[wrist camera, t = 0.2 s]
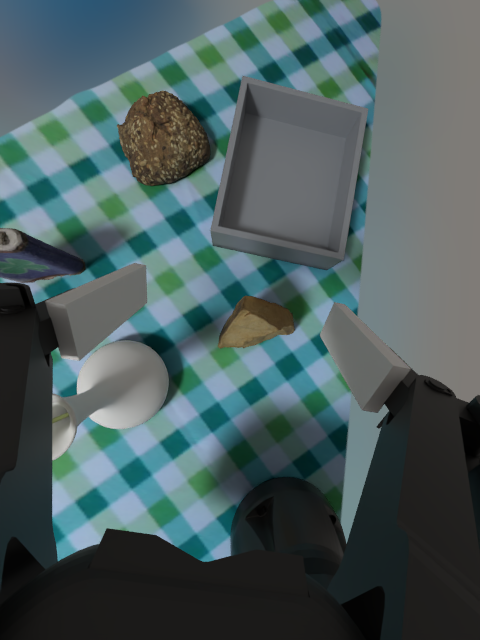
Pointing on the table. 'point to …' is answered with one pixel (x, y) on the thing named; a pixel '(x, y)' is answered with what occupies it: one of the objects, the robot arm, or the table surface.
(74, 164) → the table surface
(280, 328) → the rock
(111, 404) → the flower in vase
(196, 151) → the bread roll
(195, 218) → the table surface
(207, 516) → the table surface
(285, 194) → the bin
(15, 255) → the flask
